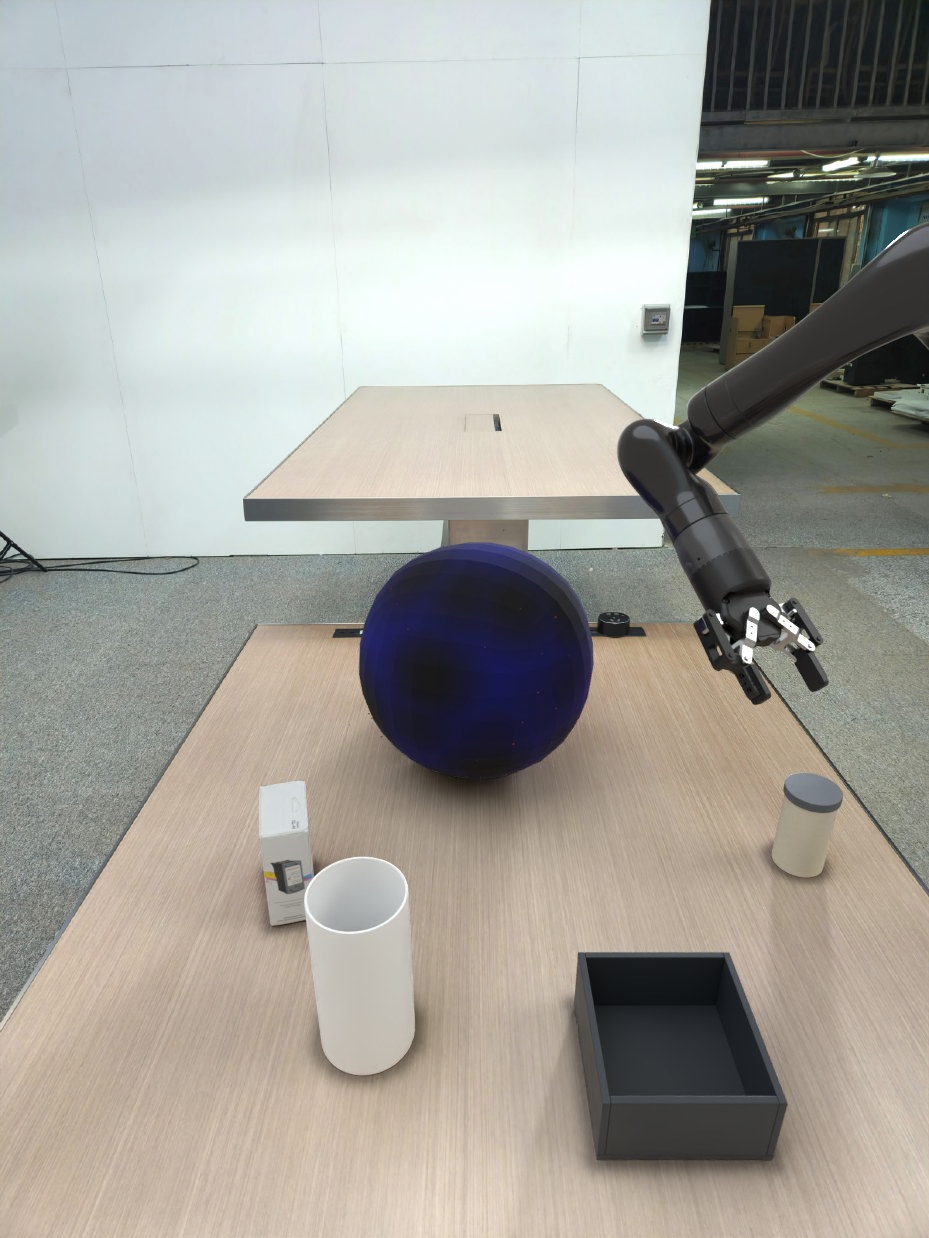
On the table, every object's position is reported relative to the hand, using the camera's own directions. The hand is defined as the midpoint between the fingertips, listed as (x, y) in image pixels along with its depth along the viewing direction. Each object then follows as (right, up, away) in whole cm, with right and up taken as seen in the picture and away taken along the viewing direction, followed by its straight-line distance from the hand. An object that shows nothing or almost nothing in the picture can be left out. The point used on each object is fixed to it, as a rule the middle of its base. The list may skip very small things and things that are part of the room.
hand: (792, 694), depth 77 cm
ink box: (-52, -22, +4) cm, 57 cm away
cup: (-42, -29, -11) cm, 52 cm away
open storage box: (-17, -30, -15) cm, 38 cm away
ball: (-34, -11, +28) cm, 45 cm away
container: (+4, -19, +8) cm, 21 cm away
